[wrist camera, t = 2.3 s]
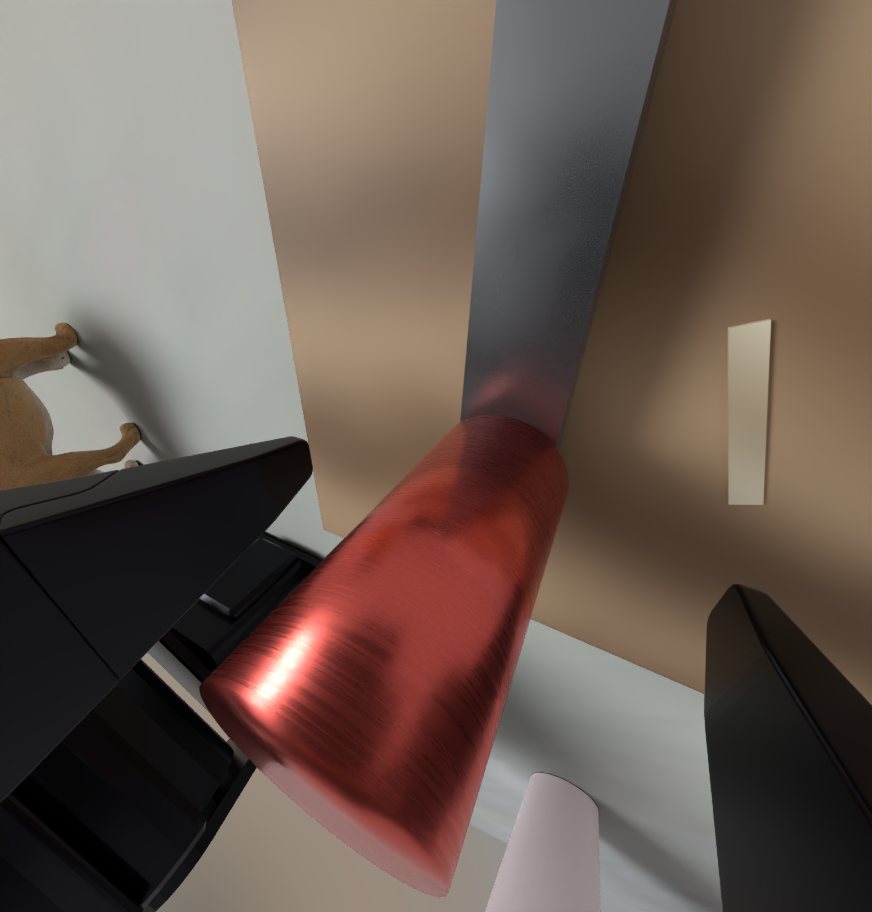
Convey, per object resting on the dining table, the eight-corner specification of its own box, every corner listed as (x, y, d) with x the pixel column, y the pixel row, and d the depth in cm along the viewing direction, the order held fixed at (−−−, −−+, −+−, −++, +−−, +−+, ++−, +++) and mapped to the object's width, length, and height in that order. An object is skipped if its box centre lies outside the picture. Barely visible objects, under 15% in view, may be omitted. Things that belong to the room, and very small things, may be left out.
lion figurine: (7, 294, 22) (-284, 322, 15) (22, 252, 19) (-333, 265, 12) (158, 497, 27) (-12, 589, 20) (189, 489, 24) (2, 595, 17)
